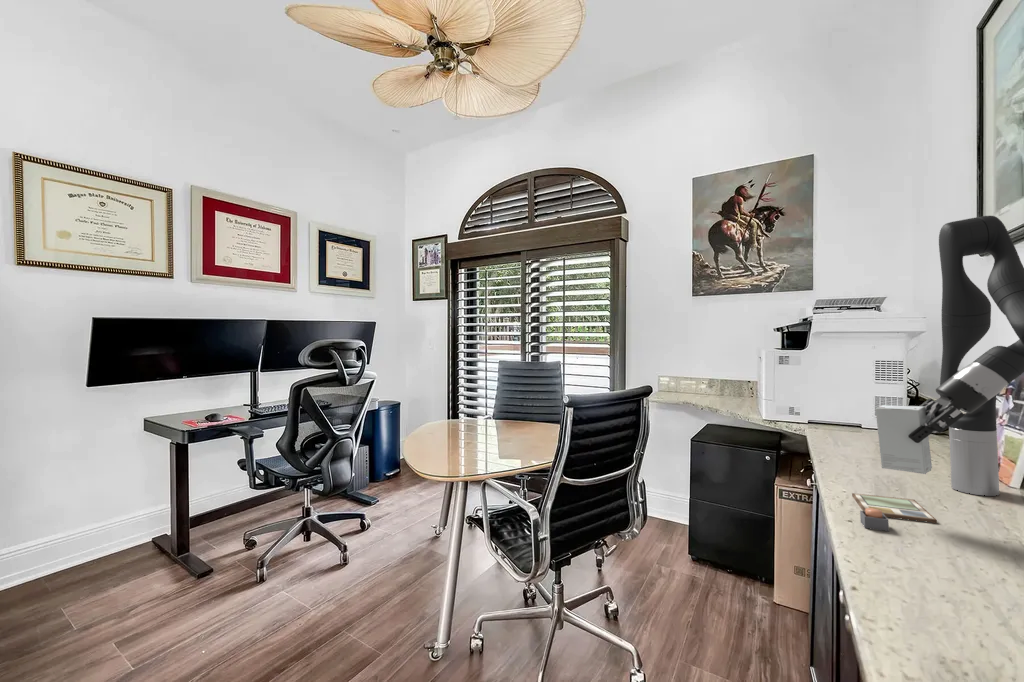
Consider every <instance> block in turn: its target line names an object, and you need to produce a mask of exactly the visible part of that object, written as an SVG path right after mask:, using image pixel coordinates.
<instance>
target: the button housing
mask: <svg viewBox="0 0 1024 682" xmlns="http://www.w3.org/2000/svg"><path fill="white" fill-rule="evenodd" d="M859 512H860V524H861V525H862V526H863V525H864V526H863V527H864V529H867V528H871V529H870V530H874V529H878V530H877V531H882V530H885V531H884V532H889V530H890V529H889V528H890V527H889V523H890V522H889V518H887V517H886V516H885V515H884V514H883V513H882V518H875V517H866V514H865V511H863V510H860V511H859Z"/></svg>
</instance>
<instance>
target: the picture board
mask: <svg viewBox="0 0 1024 682" xmlns="http://www.w3.org/2000/svg"><path fill="white" fill-rule="evenodd" d="M851 494H852V495H851V497H852V498H853V500H855V502H856V503H857V505H858V506H859V508H861V511H865V509H866V508H873V509H878V510H881V511H882V513H883V514H884V515H885V516H886V517H891V518H890V519H895V518H902V519H901V520H903V519H909V520H908V521H912V520H917V521H916V522H920V521H927V522H926V523H928V522H932V523H931V524H938V519H936V517H934V516H933V515H932V514H931V513H930V512H928V511H927V509H925V508H924V507H923V506H922V505H921V504H920V503H919V502H917V501H916V500H915V499H913V498H902V497H894V496H893V497H892V496H883V495H875V494H865V493H863V494H862V493H855V492H854V493H853V492H852V493H851Z"/></svg>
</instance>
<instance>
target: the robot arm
mask: <svg viewBox="0 0 1024 682" xmlns="http://www.w3.org/2000/svg"><path fill="white" fill-rule="evenodd" d="M938 250H939V251H938V252H939V259H940V267H941V269H940V270H941V279H942V281H941V282H942V283H941V284H942V285H941V287H942V291H941V292H942V293H941V297H942V298H941V337H942V339H941V340H942V355H941V366H940V367H941V369H940V381H939V386H938V387H936V388H935V392H936V394H937V395H939V396H940V397H938V398H937V399H936V400H934V399H932V398H931V397H930V398H927V399H926V401H924V402H923V403H922V404H920V405H919V406H925V411H926V419H927V420H926V421H925V422H924V423H923V425H924V426H922V425H921V426H920V427H918V428H917V429H916V430H914V431H913V432H912V433H910V434H909V435H908V437H909V438H910V439H911V440H913V441H914V442H916V443H919V442H921V441H922V440H923V439H925V438H926V437H927V436H928V437H929V436H930V435H931V434H932V433H933V434H936V433H939V434H941V433H943V432H944V431H946V430H947V429H948V436H949V437H948V438H949V456H950V458H949V459H950V482H951V483H950V484H951V485H950V486H951V487H950V488H952V489H953V490H955V491H957V490H958V492H961V493H966V494H969V493H970V495H977V496H984V495H985V496H986V497H994V496H995V497H996V495H997V496H1000V476H999V475H1000V472H999V452H998V433H997V432H998V431H997V430H998V429H997V395H998V394H999V393H1001V392H1002V390H1004V388H1006V387H1007V385H1009V384H1010V383H1012V382H1013V381H1014V380H1016V379H1017V378H1019V377H1020V376H1021V375H1023V374H1024V265H1023V263H1022V261H1021V258H1020V256H1019V254H1018V250H1017V249H1016V246H1015V244H1014V242H1013V240H1012V238H1011V236H1010V234H1009V232H1008V229H1007V228H1006V226H1005V224H1004V223H1003V222H1002V221H1001V219H999V217H997V216H995V215H983V216H977V217H976V216H975V217H972V218H971V217H970V218H966V219H960V220H955V221H950V222H947V223H944V224H943V225H942V226H941V228H940V230H939V235H938ZM984 253H989V254H990V255H991V256H992V258H993V260H994V261H993V266H992V269H991V271H990V273H989V275H988V278H987V283H986V285H987V291H988V293H989V296H990V297H991V299H992V300H993V302H994V303H995V304H996V306H997V307H998V309H999V310H1000V312H1001V313H1002V314H1003V315H1004V316H1005V317H1006V319H1007V321H1008V322H1009V325H1010V326H1011V328H1012V330H1013V331H1014V333H1015V335H1016V336H1017V337H1018V339H1017V340H1016V341H1015V342H1013V343H1012V344H1010V345H1008V346H1005V345H1004V346H1003V345H996V346H993V347H991V348H990V349H988V350H986V351H985V352H984V353H982V355H980V356H978V357H977V358H976V359H974V361H972V362H970V363H969V364H968V365H966V366H964V367H962V368H960V370H959V367H960V364H961V363H962V361H963V359H964V358H965V356H966V355H967V354H968V352H970V350H971V349H972V348H973V347H975V345H978V343H979V342H980V341H981V340H982V339H983V338H984V337H985V336H986V334H987V333H988V332H989V331H990V328H991V323H992V319H991V318H992V317H991V316H992V304H991V300H990V299H989V298H988V296H987V295H986V294H985V293H984V292H983V291H982V290H981V289H980V288H979V286H978V285H976V284H975V283H974V282H973V281H972V280H971V279H970V277H969V276H968V274H967V272H966V270H965V267H964V257H969V256H974V255H980V254H981V255H982V254H984ZM963 412H964V413H963Z"/></svg>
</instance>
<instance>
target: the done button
mask: <svg viewBox="0 0 1024 682" xmlns="http://www.w3.org/2000/svg"><path fill="white" fill-rule="evenodd" d="M865 514H866V517H875V518H882V511H881V510H878V509H873V508H866V509H865Z"/></svg>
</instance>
